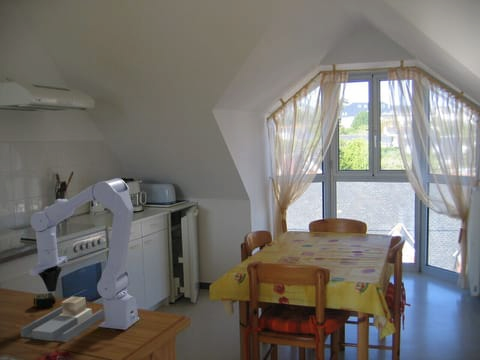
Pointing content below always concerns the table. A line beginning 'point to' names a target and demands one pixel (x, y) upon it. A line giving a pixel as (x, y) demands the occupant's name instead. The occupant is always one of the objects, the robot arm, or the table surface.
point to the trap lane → (60, 325)
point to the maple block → (74, 306)
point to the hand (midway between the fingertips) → (51, 291)
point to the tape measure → (44, 300)
